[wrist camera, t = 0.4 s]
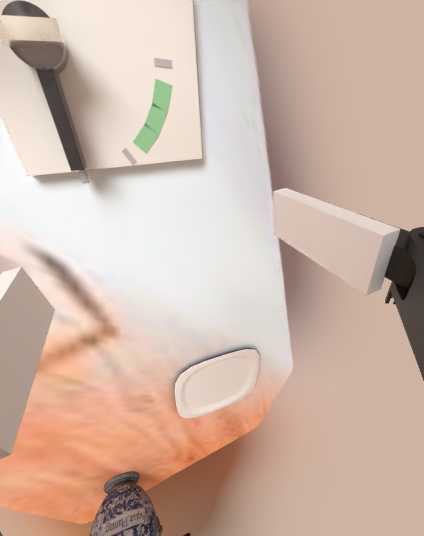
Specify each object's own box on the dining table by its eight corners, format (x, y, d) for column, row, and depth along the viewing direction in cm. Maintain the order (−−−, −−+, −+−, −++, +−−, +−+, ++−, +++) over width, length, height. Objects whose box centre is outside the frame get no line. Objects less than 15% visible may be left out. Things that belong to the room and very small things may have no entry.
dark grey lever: (1, 13, 21) (-27, -16, 17) (60, 16, 22) (48, -9, 18) (59, 168, 28) (50, 176, 24) (101, 164, 30) (99, 171, 25)
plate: (260, 338, 64) (263, 343, 63) (252, 391, 78) (254, 395, 76) (170, 366, 57) (171, 372, 55) (177, 419, 70) (179, 425, 69)
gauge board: (-63, -38, 20) (-75, -50, 18) (187, -12, 26) (191, -19, 24) (36, 186, 30) (33, 189, 28) (199, 168, 36) (203, 169, 34)
